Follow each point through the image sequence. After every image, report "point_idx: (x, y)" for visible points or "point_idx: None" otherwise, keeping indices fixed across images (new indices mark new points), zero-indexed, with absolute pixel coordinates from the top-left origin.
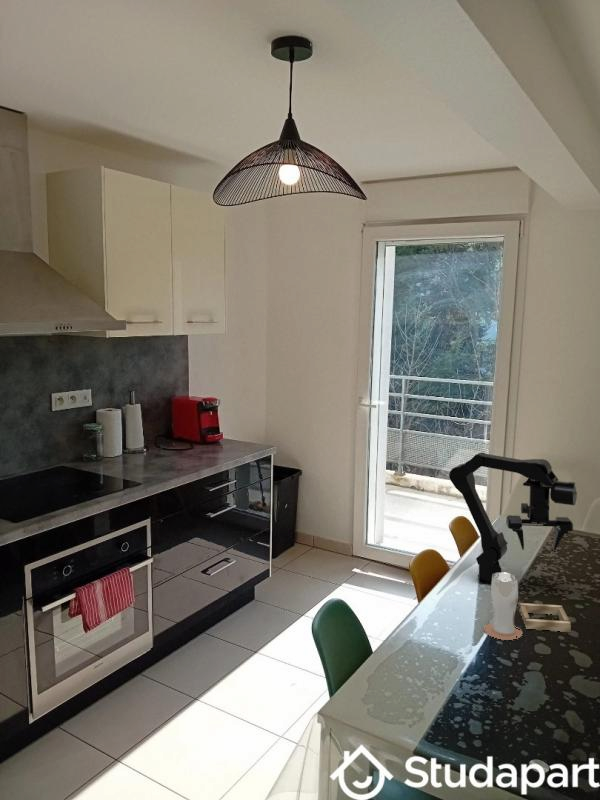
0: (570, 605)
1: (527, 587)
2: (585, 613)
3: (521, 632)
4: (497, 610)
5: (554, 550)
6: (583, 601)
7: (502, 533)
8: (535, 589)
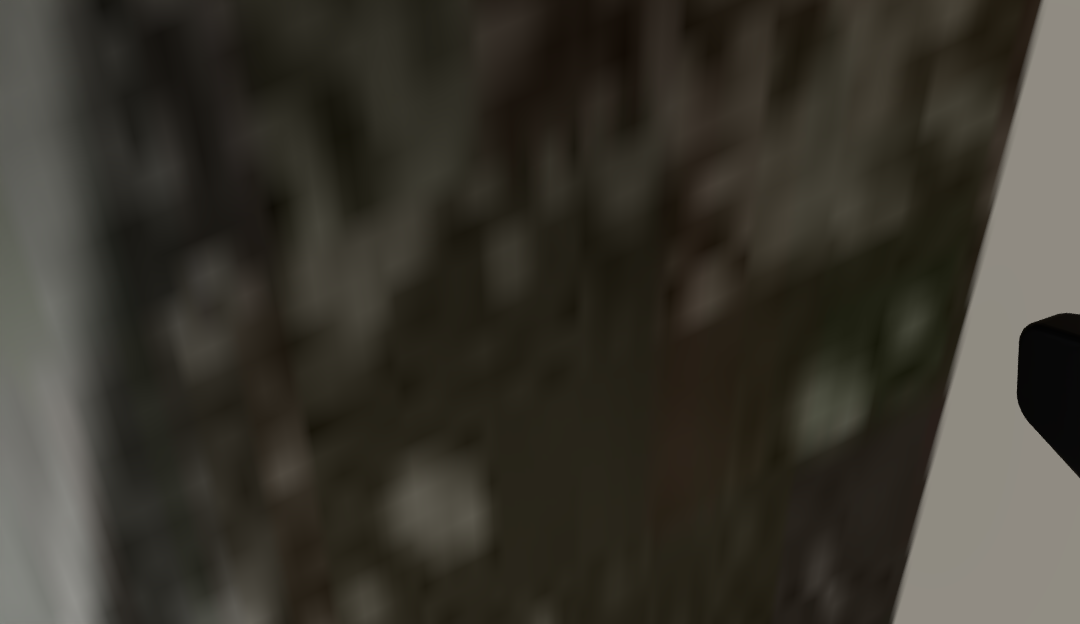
0: (757, 429)
1: (245, 103)
2: (859, 532)
3: None
4: None
5: (1051, 424)
6: (894, 271)
7: None
8: (368, 135)
